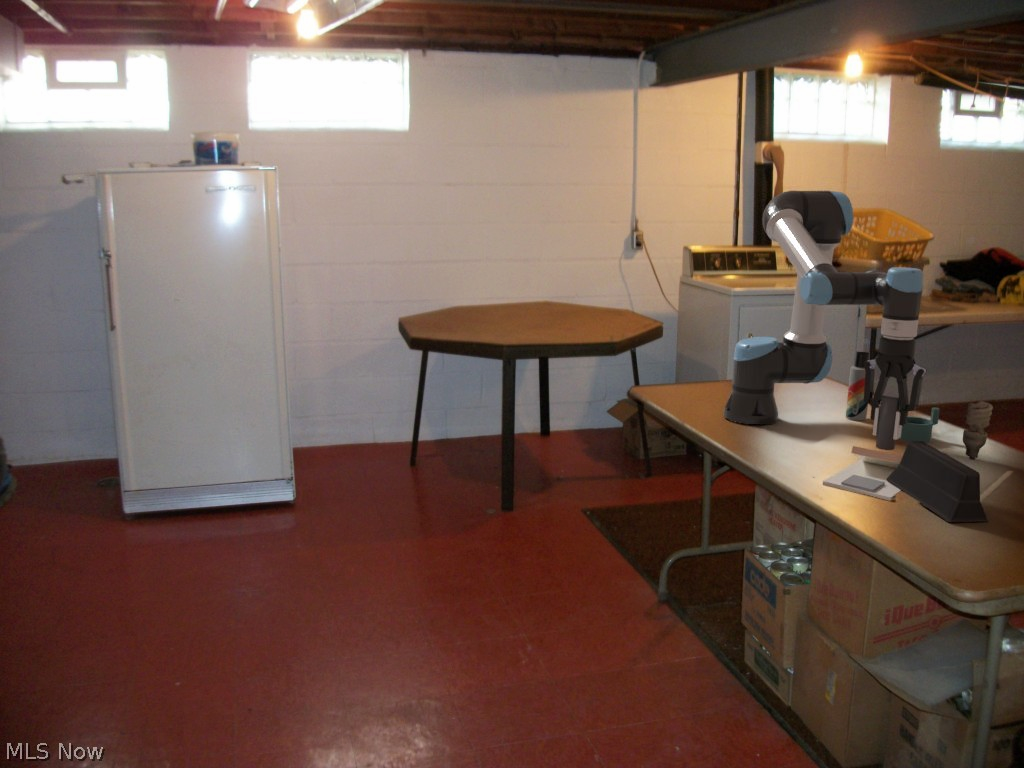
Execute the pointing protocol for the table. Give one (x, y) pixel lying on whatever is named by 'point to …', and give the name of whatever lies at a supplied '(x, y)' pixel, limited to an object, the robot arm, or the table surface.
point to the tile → (877, 457)
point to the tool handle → (887, 422)
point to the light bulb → (976, 427)
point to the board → (865, 480)
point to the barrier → (939, 483)
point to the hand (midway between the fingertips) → (886, 435)
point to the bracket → (919, 427)
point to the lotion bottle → (857, 389)
